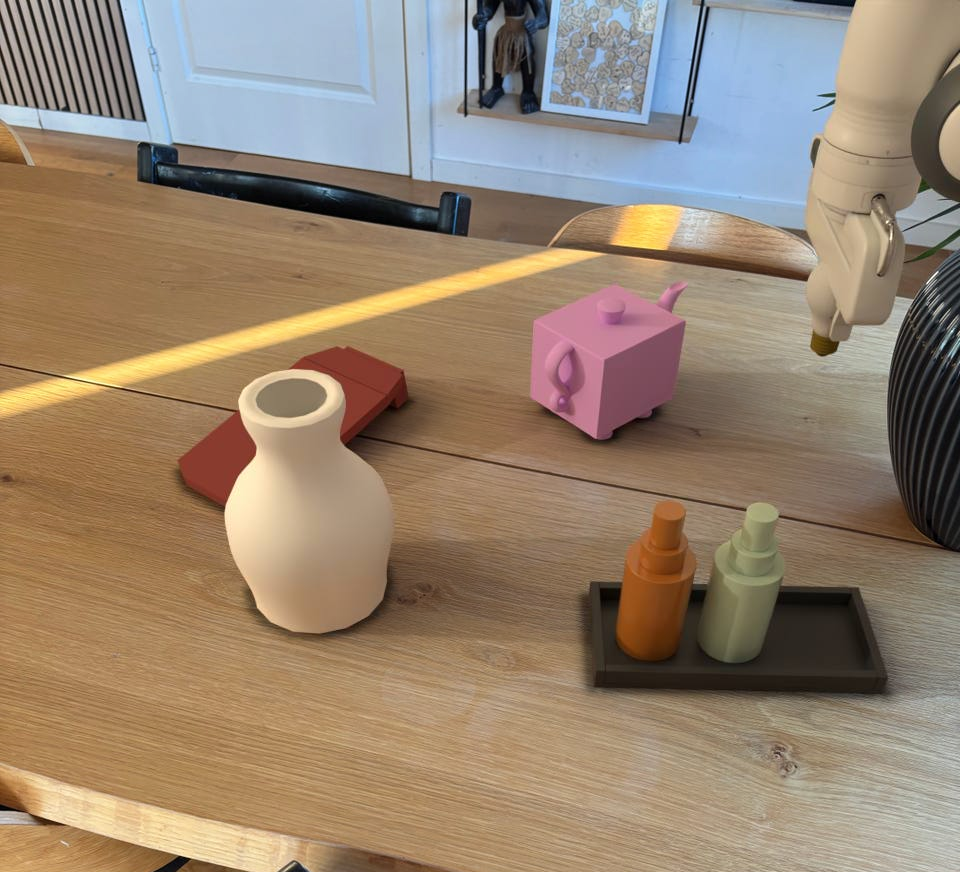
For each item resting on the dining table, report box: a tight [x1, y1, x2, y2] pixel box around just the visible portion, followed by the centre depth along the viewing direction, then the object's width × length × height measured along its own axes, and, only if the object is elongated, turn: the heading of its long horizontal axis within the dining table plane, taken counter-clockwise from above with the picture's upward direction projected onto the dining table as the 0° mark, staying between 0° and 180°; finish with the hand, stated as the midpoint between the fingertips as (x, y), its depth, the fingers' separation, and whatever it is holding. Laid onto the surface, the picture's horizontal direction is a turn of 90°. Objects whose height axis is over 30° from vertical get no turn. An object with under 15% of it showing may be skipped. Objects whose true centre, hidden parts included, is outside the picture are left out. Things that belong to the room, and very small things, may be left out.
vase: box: [224, 369, 396, 634], centre depth 85 cm, size 14×14×20 cm
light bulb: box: [805, 262, 841, 358], centre depth 97 cm, size 6×6×10 cm
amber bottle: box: [615, 499, 698, 661], centre depth 82 cm, size 6×6×14 cm
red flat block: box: [177, 345, 410, 508], centre depth 107 cm, size 12×5×25 cm
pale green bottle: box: [697, 501, 787, 663], centre depth 82 cm, size 6×6×14 cm
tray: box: [587, 581, 889, 694], centre depth 86 cm, size 24×11×2 cm, turn 88°
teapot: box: [529, 281, 688, 441], centre depth 107 cm, size 20×10×12 cm, turn 131°
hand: (830, 320), depth 98 cm, fingers closed on light bulb, 5 cm apart
